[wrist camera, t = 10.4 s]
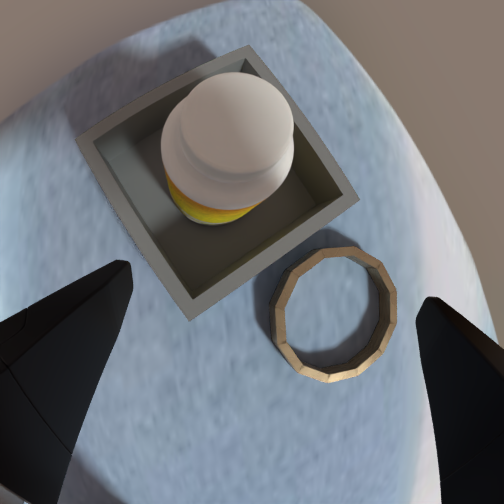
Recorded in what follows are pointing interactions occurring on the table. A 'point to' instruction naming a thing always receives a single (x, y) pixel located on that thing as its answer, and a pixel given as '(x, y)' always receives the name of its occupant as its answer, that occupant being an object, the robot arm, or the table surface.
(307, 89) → the table surface
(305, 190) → the bin
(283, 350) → the stud collar
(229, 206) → the supplement bottle
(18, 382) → the robot arm
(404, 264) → the table surface
